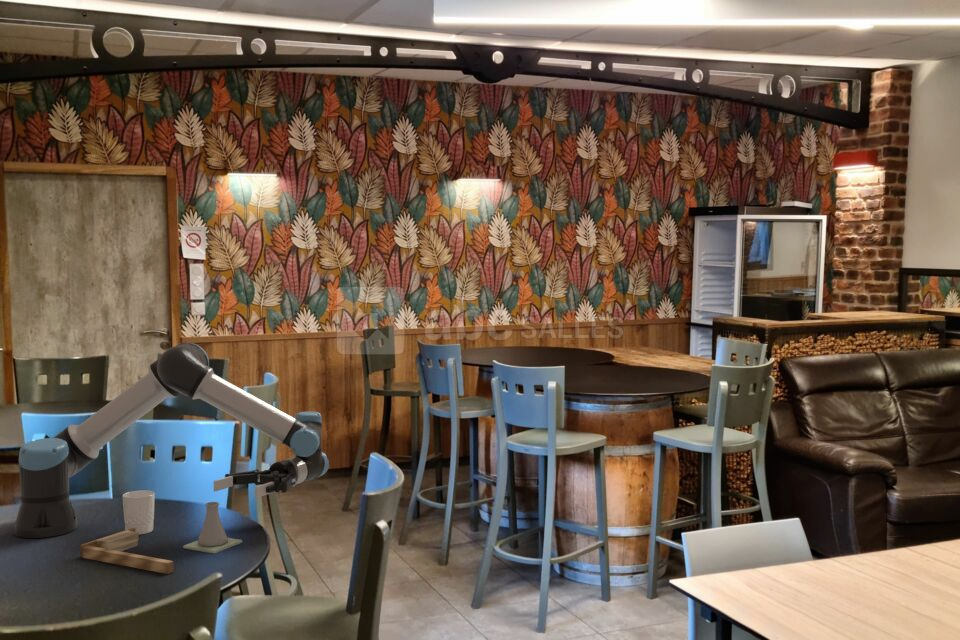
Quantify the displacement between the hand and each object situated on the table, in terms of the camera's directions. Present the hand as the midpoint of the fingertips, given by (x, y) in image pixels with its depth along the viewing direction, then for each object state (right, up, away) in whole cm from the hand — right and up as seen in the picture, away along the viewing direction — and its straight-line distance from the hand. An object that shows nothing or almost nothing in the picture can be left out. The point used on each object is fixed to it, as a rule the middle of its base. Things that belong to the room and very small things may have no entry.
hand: (235, 489), depth 235 cm
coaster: (-4, -13, -7) cm, 15 cm away
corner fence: (-16, -13, -15) cm, 26 cm away
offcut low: (-26, -14, -10) cm, 31 cm away
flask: (-4, -12, -7) cm, 15 cm away
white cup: (-27, -12, +5) cm, 30 cm away
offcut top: (-26, -12, -10) cm, 30 cm away
